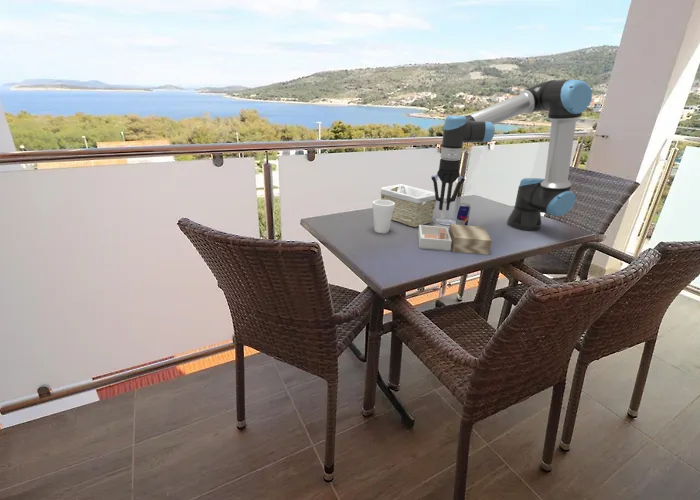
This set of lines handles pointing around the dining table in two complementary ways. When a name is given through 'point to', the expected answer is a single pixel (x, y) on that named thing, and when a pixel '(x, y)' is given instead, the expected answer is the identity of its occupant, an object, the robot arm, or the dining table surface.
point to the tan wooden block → (469, 239)
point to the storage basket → (410, 204)
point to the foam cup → (382, 215)
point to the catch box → (433, 243)
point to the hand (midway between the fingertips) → (442, 217)
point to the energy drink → (463, 214)
